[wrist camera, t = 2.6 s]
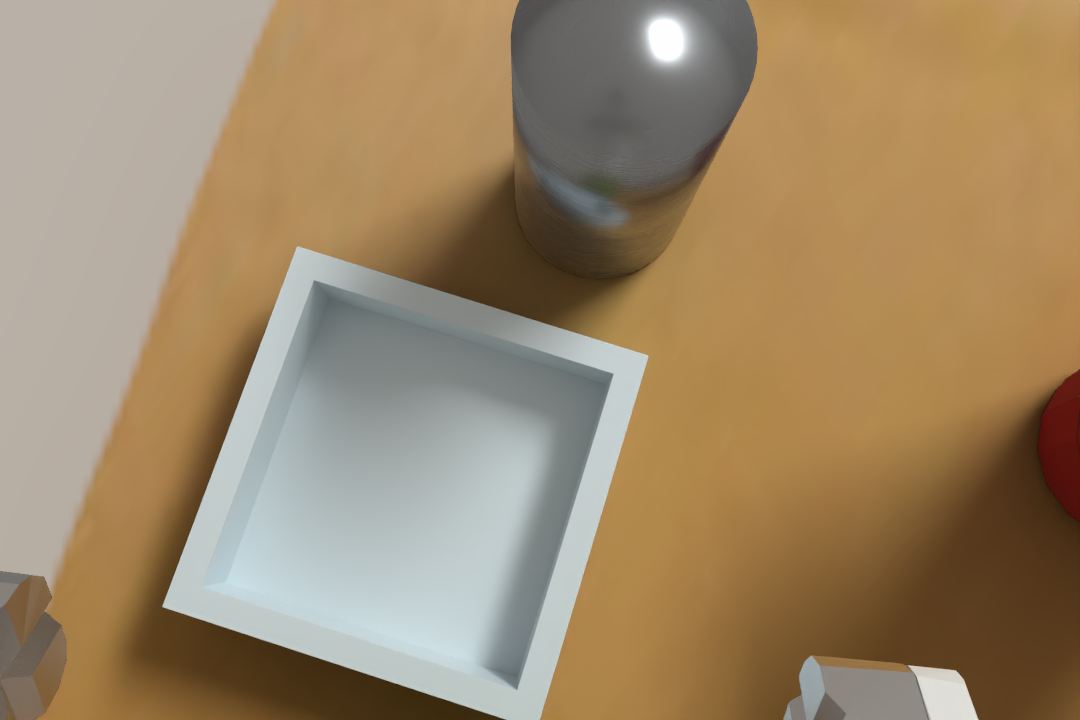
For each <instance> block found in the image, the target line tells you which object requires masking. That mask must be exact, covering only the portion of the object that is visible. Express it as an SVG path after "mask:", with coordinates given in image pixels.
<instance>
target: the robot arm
mask: <svg viewBox="0 0 1080 720" xmlns="http://www.w3.org/2000/svg"><path fill="white" fill-rule="evenodd" d="M51 599H52V595H51V593H50V591H49V588H48V586H47V583H46V581H45V578H44V577H42V576H34V575H26V574H19V573H11V572H3V571H0V720H35V719H37V718H38V717H40V716H41V715H43V714H44V713H46V711H47V709H48V707H49V705H50V703H51V702H52V700H53V698H54V696H55V694H56V692H57V690H58V689H59V686H60V682H61V678H62V675H63V671H64V667H65V664H66V660H67V658H66V638H65V635H64V631H63V628H62V625H61V624H60V623H58V622H57V621H56V620H55V619H53V618H52V617H51V616H50V615H49V614H47V613H46V612H45V611H44V610H45V609H46V607H47V605H48V604H49V602H50V601H51ZM799 680H800V686H801V692H802V695H800V696H798V697H796V698H795V699H793V700H791V701H790V702H789V703H788V706H787V709H786V712H785V715H784V719H783V720H978V717H977V714H976V712H975V709H974V706H973V703H972V700H971V698H970V695H969V692H968V689H967V687H966V684H965V681H964V679H963V678H962V677H961V676H960V675H959V673H958V672H957V671H956V670H950V669H941V668H930V667H920V666H910V665H905V666H904V665H903V664H902V663H891V662H880V661H869V660H858V659H847V658H836V657H825V656H814V655H811V656H810V657H809V658H808V659H807V660H806V661H805V662H804V664H803V667H802V669H801V672H800V674H799Z"/></svg>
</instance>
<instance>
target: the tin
mask: <svg viewBox="0 0 1080 720" xmlns="http://www.w3.org/2000/svg"><path fill="white" fill-rule="evenodd" d="M757 49H758V47H757V33H756V28H755V24H754V19H753V16H752V13H751V10H750V8H749V5H748V3H747V1H746V0H519V3H518V5H517V8H516V11H515V15H514V19H513V23H512V31H511V64H512V101H513V137H514V174H515V205H516V211H517V216H518V220H519V223H520V226H521V228H522V230H523V232H524V234H525V236H526V238H527V239H528V241H529V242H530V244H531V245H532V246H533V247H534V249H535V250H536V251H537V252H538V253H539V254H540V255H541V256H542V257H543V258H544V259H545V260H547V261H548V262H550V263H551V264H552V265H554V266H556V267H557V268H559V269H561V270H563V271H565V272H568V273H571V274H573V275H577V276H581V277H585V278H594V279H608V278H615V277H620V276H624V275H627V274H630V273H633V272H635V271H637V270H640V269H641V268H643V267H645V266H646V265H648V264H650V263H651V262H652V261H653V260H655V259H656V258H657V257H658V256H659V255H660V254H661V253H662V252H663V251H664V250H665V249H666V247H667V246H668V245H669V243H670V242H671V240H672V239H673V237H674V235H675V233H676V231H677V229H678V227H679V225H680V223H681V221H682V219H683V217H684V216H685V214H686V212H687V210H688V208H689V206H690V204H691V202H692V200H693V198H694V196H695V194H696V192H697V190H698V188H699V186H700V184H701V182H702V181H703V179H704V177H705V175H706V173H707V171H708V169H709V167H710V165H711V163H712V161H713V159H714V157H715V155H716V153H717V151H718V149H719V147H720V145H721V144H722V142H723V140H724V138H725V136H726V134H727V132H728V130H729V128H730V126H731V124H732V122H733V120H734V118H735V116H736V114H737V112H738V110H739V109H740V107H741V105H742V103H743V101H744V99H745V97H746V95H747V93H748V91H749V88H750V85H751V83H752V80H753V77H754V72H755V68H756V63H757Z"/></svg>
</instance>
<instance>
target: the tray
mask: <svg viewBox="0 0 1080 720" xmlns="http://www.w3.org/2000/svg"><path fill="white" fill-rule="evenodd" d="M647 360H648V355H645V354H642V353H638V352H635V351H632V350H629V349H626V348H622V347H619V346H616V345H613V344H609V343H606V342H603V341H600V340H597V339H593V338H590V337H587V336H584V335H581V334H577V333H574V332H571V331H568V330H565V329H561V328H558V327H555V326H552V325H548V324H545V323H542V322H539V321H536V320H532V319H529V318H526V317H523V316H520V315H516V314H513V313H510V312H507V311H503V310H500V309H497V308H494V307H491V306H487V305H484V304H481V303H478V302H475V301H471V300H468V299H465V298H462V297H459V296H455V295H452V294H449V293H446V292H442V291H439V290H436V289H433V288H430V287H426V286H423V285H420V284H417V283H414V282H410V281H407V280H404V279H401V278H397V277H394V276H391V275H388V274H385V273H381V272H378V271H375V270H372V269H369V268H365V267H362V266H359V265H356V264H353V263H349V262H346V261H343V260H340V259H336V258H333V257H330V256H327V255H324V254H320V253H317V252H314V251H311V250H308V249H304V248H301V247H298V246H297V248H296V251H295V254H294V256H293V259H292V262H291V264H290V267H289V270H288V272H287V275H286V278H285V280H284V283H283V286H282V288H281V291H280V294H279V296H278V299H277V302H276V304H275V307H274V310H273V312H272V315H271V318H270V320H269V323H268V326H267V328H266V331H265V334H264V336H263V339H262V342H261V344H260V347H259V350H258V352H257V355H256V358H255V360H254V363H253V366H252V368H251V371H250V374H249V376H248V379H247V382H246V384H245V387H244V390H243V392H242V395H241V398H240V400H239V403H238V406H237V409H236V411H235V414H234V417H233V419H232V422H231V425H230V427H229V430H228V433H227V435H226V438H225V441H224V443H223V446H222V449H221V451H220V454H219V457H218V459H217V462H216V465H215V467H214V470H213V473H212V475H211V478H210V481H209V483H208V486H207V489H206V491H205V494H204V497H203V499H202V502H201V505H200V507H199V510H198V513H197V515H196V518H195V521H194V523H193V526H192V529H191V531H190V534H189V537H188V539H187V542H186V545H185V547H184V550H183V553H182V555H181V558H180V561H179V563H178V566H177V569H176V572H175V574H174V577H173V580H172V582H171V585H170V588H169V590H168V593H167V596H166V598H165V601H164V604H163V606H162V607H164V608H167V609H170V610H173V611H176V612H179V613H182V614H185V615H188V616H191V617H194V618H197V619H200V620H203V621H207V622H210V623H213V624H216V625H219V626H222V627H225V628H228V629H231V630H234V631H237V632H240V633H243V634H246V635H249V636H252V637H255V638H258V639H261V640H265V641H268V642H271V643H274V644H277V645H280V646H283V647H286V648H289V649H292V650H295V651H298V652H301V653H304V654H307V655H310V656H313V657H316V658H319V659H323V660H326V661H329V662H332V663H335V664H338V665H341V666H344V667H347V668H350V669H353V670H356V671H359V672H362V673H365V674H368V675H371V676H374V677H377V678H381V679H384V680H387V681H390V682H393V683H396V684H399V685H402V686H405V687H408V688H411V689H414V690H417V691H420V692H423V693H426V694H429V695H432V696H435V697H439V698H442V699H445V700H448V701H451V702H454V703H457V704H460V705H463V706H466V707H469V708H472V709H475V710H478V711H481V712H484V713H487V714H490V715H493V716H496V717H500V718H503V719H506V720H540V717H541V714H542V711H543V707H544V704H545V701H546V697H547V694H548V691H549V687H550V684H551V681H552V677H553V674H554V671H555V667H556V664H557V661H558V657H559V654H560V650H561V647H562V644H563V640H564V637H565V634H566V630H567V627H568V624H569V620H570V617H571V614H572V610H573V607H574V604H575V600H576V597H577V594H578V590H579V587H580V584H581V580H582V577H583V574H584V570H585V567H586V564H587V560H588V557H589V554H590V550H591V547H592V543H593V540H594V537H595V533H596V530H597V527H598V523H599V520H600V517H601V513H602V510H603V507H604V503H605V500H606V497H607V493H608V490H609V487H610V483H611V480H612V477H613V473H614V470H615V467H616V463H617V460H618V457H619V453H620V450H621V447H622V443H623V440H624V436H625V433H626V430H627V426H628V423H629V420H630V416H631V413H632V410H633V406H634V403H635V400H636V396H637V393H638V390H639V386H640V383H641V380H642V376H643V373H644V370H645V366H646V363H647Z"/></svg>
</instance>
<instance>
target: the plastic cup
mask: <svg viewBox="0 0 1080 720" xmlns="http://www.w3.org/2000/svg"><path fill="white" fill-rule="evenodd" d="M1038 454H1039V457H1040V461H1041V465H1042V468H1043V472H1044V475H1045V479H1046V483H1047V485H1048V487H1049V488H1050V490H1051V491H1052V492H1053V494H1054V495H1055V496H1056V498H1057V499H1058V500H1059V502H1060V503H1061V505H1062V506H1063V507H1064V509H1065V510H1066V511H1067V513H1068V514H1069V515H1070V516H1071V517H1073V518H1075V519H1076V520H1078V521H1079V522H1080V369H1079V370H1078V371H1077V372H1075V373H1074V374H1072V375H1071V376H1069V377H1068V378H1066V379H1065V381H1064V382H1063V384H1062V385H1061V386H1059V387H1058V389H1057V390H1056V392H1055V394H1054V395H1053V397H1052V399H1051V400H1050V402H1049V404H1048V406H1047V407H1046V409H1045V411H1044V412H1043V414H1042V416H1041V424H1040V433H1039V441H1038Z"/></svg>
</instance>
